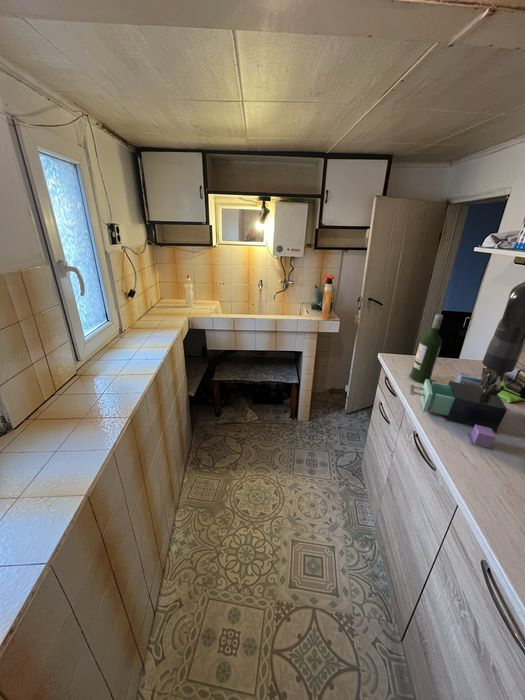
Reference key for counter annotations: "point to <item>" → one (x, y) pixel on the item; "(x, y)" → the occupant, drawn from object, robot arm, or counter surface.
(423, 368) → the wine bottle
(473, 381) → the medicine box
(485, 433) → the purple cube
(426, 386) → the drawer
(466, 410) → the drawer cabinet
